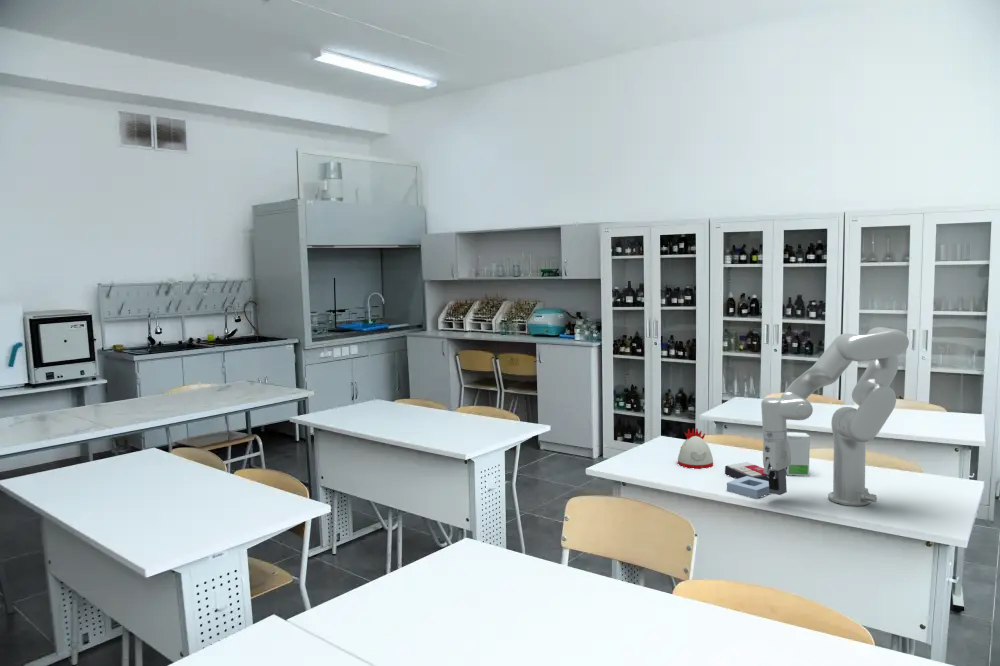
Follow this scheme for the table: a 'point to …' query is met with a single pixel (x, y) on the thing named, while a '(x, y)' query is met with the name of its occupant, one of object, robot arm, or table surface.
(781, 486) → the block
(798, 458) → the skincare box
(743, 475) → the calculator
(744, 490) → the outlet plate
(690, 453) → the kitchen timer
